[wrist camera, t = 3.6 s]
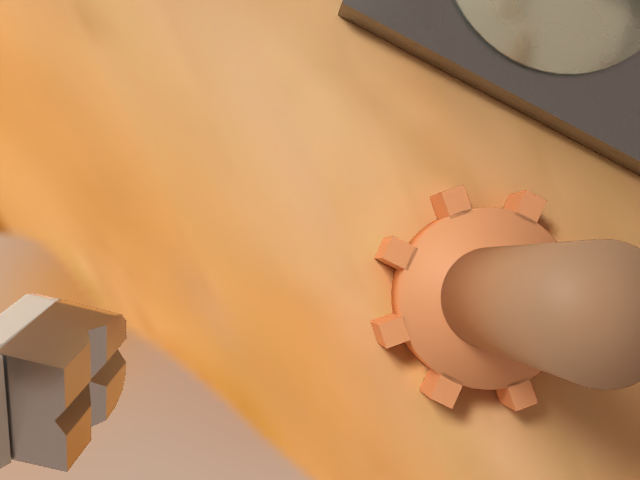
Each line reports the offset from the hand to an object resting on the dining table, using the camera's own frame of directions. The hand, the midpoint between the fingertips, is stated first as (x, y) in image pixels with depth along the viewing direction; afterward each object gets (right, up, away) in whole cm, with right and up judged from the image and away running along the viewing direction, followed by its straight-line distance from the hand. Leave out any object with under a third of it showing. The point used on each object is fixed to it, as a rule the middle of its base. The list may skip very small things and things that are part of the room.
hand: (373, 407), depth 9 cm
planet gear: (+7, 0, +23) cm, 24 cm away
